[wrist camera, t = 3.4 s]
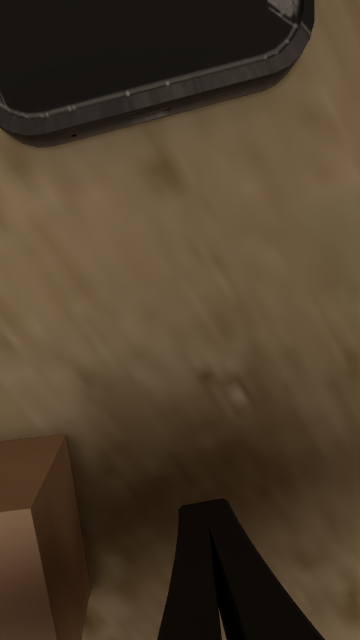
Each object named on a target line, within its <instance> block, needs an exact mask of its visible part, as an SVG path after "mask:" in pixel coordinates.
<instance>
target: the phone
mask: <svg viewBox="0 0 360 640" xmlns="http://www.w3.org/2000/svg"><path fill="white" fill-rule="evenodd" d="M313 24H314V0H0V128H1V129H3V130H4V131H5V132H6V133H7V134H9V135H10V136H12V137H13V138H15V139H17V140H18V141H20V142H22V143H23V144H27V145H31V146H35V147H51V146H57V145H60V144H64V143H68V142H72V141H76V140H79V139H83V138H87V137H91V136H94V135H98V134H102V133H106V132H110V131H113V130H117V129H121V128H125V127H128V126H132V125H136V124H140V123H144V122H147V121H151V120H155V119H159V118H162V117H166V116H170V115H174V114H178V113H181V112H185V111H189V110H193V109H196V108H200V107H204V106H208V105H212V104H215V103H219V102H223V101H227V100H231V99H234V98H238V97H242V96H246V95H249V94H253V93H257V92H261V91H264V90H266V89H268V88H270V87H272V86H274V85H276V84H277V83H278V82H279V81H280V80H281V79H282V78H283V77H284V76H285V75H286V74H287V73H288V72H289V70H290V69H291V68H292V66H293V65H294V63H295V62H296V61H297V59H298V58H299V57H300V55H301V54H302V52H303V50H304V48H305V46H306V45H307V43H308V41H309V39H310V36H311V32H312V28H313ZM75 134H76V135H77V136H75V137H72V136H71V135H75Z"/></svg>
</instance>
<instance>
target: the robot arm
mask: <svg viewBox="0 0 360 640" xmlns="http://www.w3.org/2000/svg"><path fill="white" fill-rule="evenodd" d="M218 607H219V610H218ZM219 611H220V615H221V619H222V623H223V627H224V631H225V635H226V639H227V640H325V639H324V638H323V637H322V636H321V634H320V633H319V632H318V631H317V630H316V628H315V627H314V626H313V625H312V623H311V622H310V621H309V620H308V619H307V617H306V616H305V615H304V614H303V612H302V611H301V610H300V608H299V607H298V606H297V605H296V603H295V602H294V601H293V599H292V598H291V597H290V596H289V594H288V593H287V592H286V590H285V589H284V588H283V586H282V585H281V584H280V582H279V581H278V580H277V578H276V577H275V575H274V574H273V573H272V571H271V570H270V568H269V567H268V565H267V564H266V563H265V561H264V560H263V558H262V557H261V555H260V554H259V553H258V551H257V550H256V548H255V547H254V545H253V544H252V542H251V541H250V539H249V537H248V536H247V534H246V533H245V531H244V529H243V528H242V526H241V524H240V523H239V521H238V519H237V518H236V516H235V514H234V512H233V510H232V508H231V506H230V504H229V502H228V501H227V500H226V499H224V498H223V499H217V500H211V501H206V502H200V503H194V504H188V505H183V506H181V507H180V509H179V525H178V537H177V545H176V552H175V559H174V564H173V570H172V575H171V581H170V586H169V591H168V596H167V601H166V605H165V609H164V613H163V618H162V622H161V626H160V630H159V635H158V639H157V640H222V637H221V628H220V619H219Z"/></svg>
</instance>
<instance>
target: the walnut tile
mask: <svg viewBox="0 0 360 640" xmlns="http://www.w3.org/2000/svg"><path fill="white" fill-rule="evenodd" d="M90 589H91V588H90V582H89V575H88V569H87V563H86V557H85V550H84V544H83V538H82V532H81V525H80V519H79V513H78V507H77V500H76V494H75V488H74V481H73V475H72V469H71V463H70V456H69V450H68V444H67V438H66V435H57V436H47V437H38V438H28V439H18V440H9V441H0V640H81V638H82V632H83V627H84V622H85V616H86V611H87V605H88V600H89V595H90Z"/></svg>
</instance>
